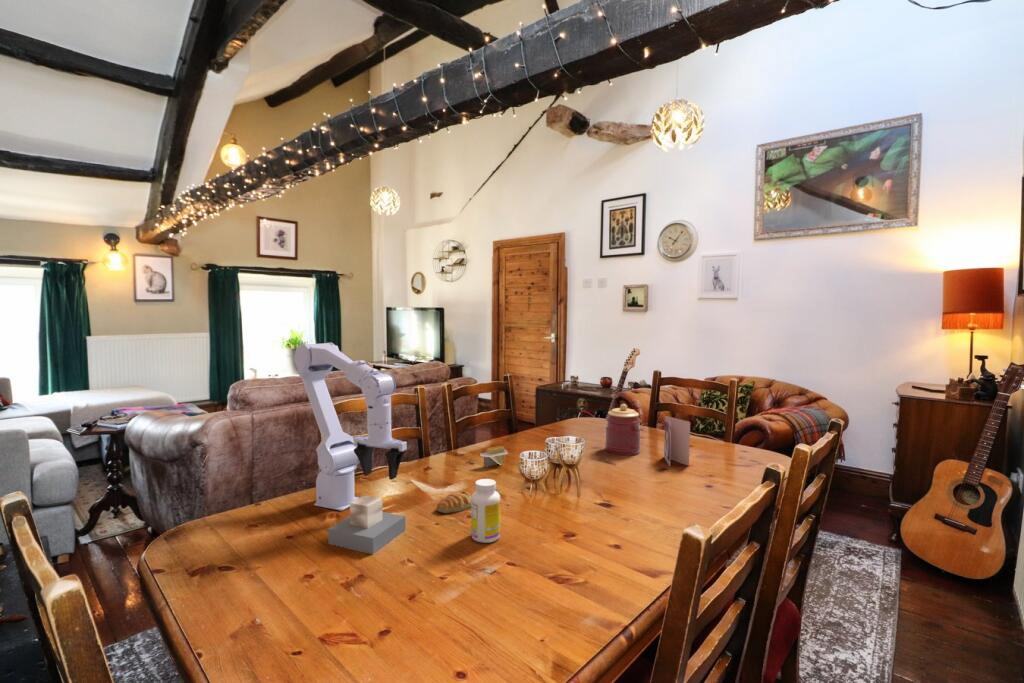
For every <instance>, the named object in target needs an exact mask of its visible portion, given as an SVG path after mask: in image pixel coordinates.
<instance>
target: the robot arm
mask: <svg viewBox="0 0 1024 683" xmlns="http://www.w3.org/2000/svg"><path fill="white" fill-rule="evenodd" d="M293 362H294V364H295V366H296V370H297V373H298V375H299V378H301V380H302V383H303V386H304V390H305V392H306V394H307V398H308V401H309V403H310V407H311V409H312V412H313V415H314V418H315V421H316V423H317V426H318V429H319V432H320V435H321V438H322V440H321V441H320V443H319V444H318V445H317V447H316V449H315V451H316V453H317V464H318V467H319V469H320V472H319V473H318V474H317V476H316V481H315V490H316V491H315V492H316V499H315V500H316V502H315V503H314V506H316V507H321V508H326V509H331V510H337V511H340V512H341V511H344V510H346V509H348V508H350V502H352V501H354V500H356V499H358V498H359V497H357V496H355V495H356V494H355V469H357V466H358V464H360V466H361V468H362V469H361V470H362V473H363V476H368V475H371V474H372V471H373V470H372V468H373V464H372V463H373V453H374V449H375V448H376V449H377V448H379V449H386V450H388V451H387V452H385V454H384V455H385V457H386V461H387V464H388V479H389V480H394V479H396V478H397V476H398V471H399V467H400V464H401V462H402V459H403V458H404V455H405V453H406V450H407V449H408V446H407V443H408V442H407V441H403V440H400V439H396V438H393V437H392V395H393V394H394V393H395V391H396V388H397V383H396V380H395V378H394V376H393V375H392V374H391V373H390V372H388V371H387V372H380V371H379V370H378V369H377V368H373V367H371V366H370V365H368V364H367V363H366V362H367V361H365V360H364V359H363V360H362V359H361V360H355V361H354V360H352V359H351V358H349V357H348V356H347V355H346V354H344V353H343V352H342V351H340V349H339V346H338V345H336V344H334V343H333V342H331V341H330V342H326V343H325V342H324V343H310V344H308V343H307V344H306V343H301V344H299V345H298V346H296V349H295V352H294V355H293ZM333 367H334V368H336V369H337V370H340V371H341V372H343V373H345V378H346V380H348V381H349V382H350V383H352V384H354V385H356V387H358V388H360V389H361V393H362V394H363V397H364V403H365V406H366V411H367V412H366V413H367V414H366V416H367V418H366V419H367V422H366V424H367V427H366V428H367V429H366V430H367V436H359V435H358V436H355V437H353V436H352V435H349V434H348V433H346V432H345V431H343V428H342V426H341V423H340V420H339V418H338V417H339V416H338V414H337V412H336V409H335V406H334V403H333V401H332V398H331V394H330V392H329V390H328V387H327V386H328V385H327V384H326V381H325V379H326V377H327V376H328V375H329V374H330V373H331V371H332V370H333Z"/></svg>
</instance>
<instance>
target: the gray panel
mask: <svg viewBox="0 0 1024 683" xmlns="http://www.w3.org/2000/svg"><path fill="white" fill-rule="evenodd" d="M405 530H407V529H406V516H405V515H402V514H396V513H392V512H386V511H382V520H381V521H380V522H378V523H376V524H375V525H373V526H371V527H370V528H368V529H367V528H363V527H359V526H355V525H351V524H350V515H348V517H346V518H344V519H342V520H340V521H339V522H338V523H336V524H334V525H333V526H331V527H329V528H328V529H327V534H328V535H327V536H328V538H327V539H328V543H327V544H328V545H329V544H331V545H330V546H334V545H336V546H335V547H338V546H340V547H339V548H343V547H344V549H348V550H352V551H356V550H357V552H360V551H362V553H365V552H367V553H366V554H369V553H371V554H370V555H375V554H376V553H377V552H379V551H380V550H382V549H383V548H385V547H386V546H387V545H388V544H389V543H391V542H392V541H393V539H394V538H395V539H396V538H398V537H399V536H400V535H402V534H403V533H404V532H406V531H405ZM401 533H402V534H401ZM398 535H399V536H398ZM397 536H398V537H397ZM395 539H394V540H395ZM390 541H391V542H390ZM386 544H387V545H386ZM382 547H383V548H382ZM374 553H375V554H374Z"/></svg>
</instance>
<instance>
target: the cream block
mask: <svg viewBox="0 0 1024 683" xmlns="http://www.w3.org/2000/svg"><path fill="white" fill-rule="evenodd" d="M382 512H383V498H382V497H376V496H371V495H368V494H364V495H362V496H361V497H358V499H356V500H354V501H352V502H350V507H349V516H350V524H351V525H355V526H359V527H363V528H367V529H368V528H370V527H371V526H373V525H375V524H376V523H378V522H380V521H381V520H382Z"/></svg>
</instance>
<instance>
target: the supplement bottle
mask: <svg viewBox="0 0 1024 683" xmlns="http://www.w3.org/2000/svg"><path fill="white" fill-rule="evenodd" d="M474 485H475V487H474V488H475V491H474V492H473V493H472V494H471V495H470V497H471V507H470V509H471V510H470V511H471V512H470V516H471V517H470V519H471V521H470V524H471V526H470V527H471V528H470V529H471V530H470V531H471V538H472V539H473V540H474V541H475V542H478V543H483V544H489V543H493V542H496V541H497V540H499V538H500V536H501V495H500V493H499V492H498V491H496V489H497V482H496V480H494V479H492V478H481V479H480V478H479V479H478V480H476V481H475V484H474Z"/></svg>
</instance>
